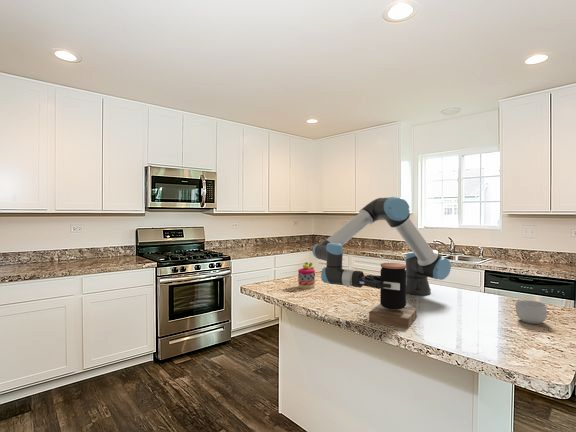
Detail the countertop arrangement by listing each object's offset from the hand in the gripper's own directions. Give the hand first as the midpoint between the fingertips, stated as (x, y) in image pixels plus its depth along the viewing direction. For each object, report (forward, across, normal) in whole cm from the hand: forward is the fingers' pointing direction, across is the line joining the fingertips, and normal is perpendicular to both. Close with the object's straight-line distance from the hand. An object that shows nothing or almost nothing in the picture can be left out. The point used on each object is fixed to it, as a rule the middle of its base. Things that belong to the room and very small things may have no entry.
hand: (403, 284), depth 142 cm
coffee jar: (-4, 0, -10) cm, 11 cm away
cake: (-66, -33, -16) cm, 75 cm away
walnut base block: (-4, 0, -16) cm, 16 cm away
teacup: (+46, -30, -16) cm, 57 cm away
